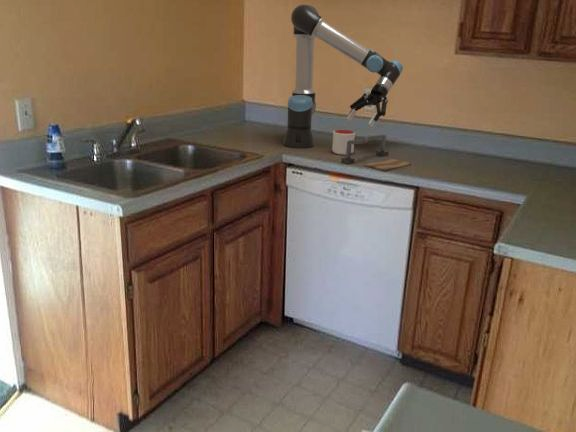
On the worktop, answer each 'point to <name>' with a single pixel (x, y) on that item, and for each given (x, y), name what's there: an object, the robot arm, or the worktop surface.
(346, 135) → the cup
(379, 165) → the walnut board
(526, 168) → the worktop surface
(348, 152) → the jointed metal bar
